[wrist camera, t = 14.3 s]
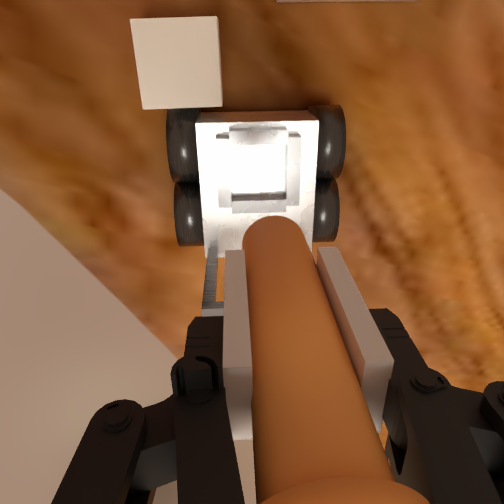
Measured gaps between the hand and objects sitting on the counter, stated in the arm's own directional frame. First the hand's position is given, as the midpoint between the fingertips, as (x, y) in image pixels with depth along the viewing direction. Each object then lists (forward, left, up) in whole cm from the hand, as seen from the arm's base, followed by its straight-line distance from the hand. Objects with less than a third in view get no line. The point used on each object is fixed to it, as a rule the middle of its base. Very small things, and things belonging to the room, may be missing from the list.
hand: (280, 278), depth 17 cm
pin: (0, 0, -3) cm, 3 cm away
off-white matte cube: (-7, -6, -24) cm, 25 cm away
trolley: (+2, 0, -24) cm, 24 cm away
